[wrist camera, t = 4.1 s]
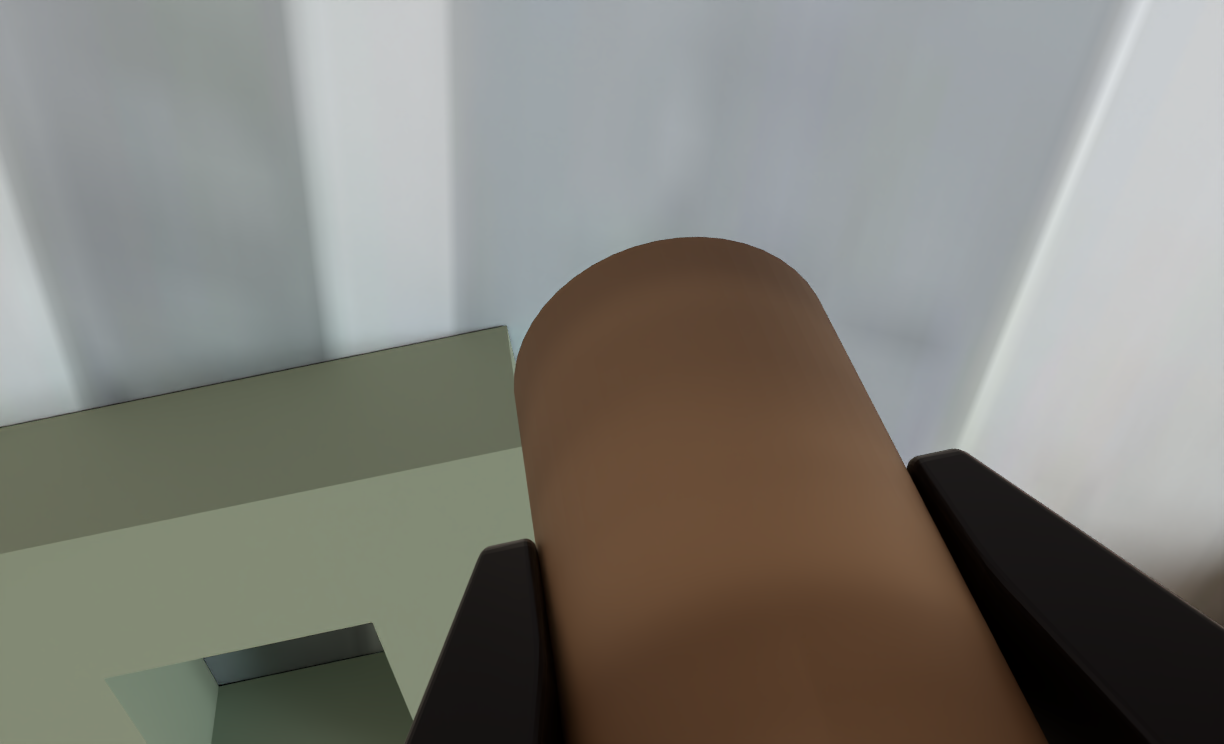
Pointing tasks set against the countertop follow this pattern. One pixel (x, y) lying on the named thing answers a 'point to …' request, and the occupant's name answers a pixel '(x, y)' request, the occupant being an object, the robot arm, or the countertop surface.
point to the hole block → (253, 546)
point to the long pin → (737, 522)
